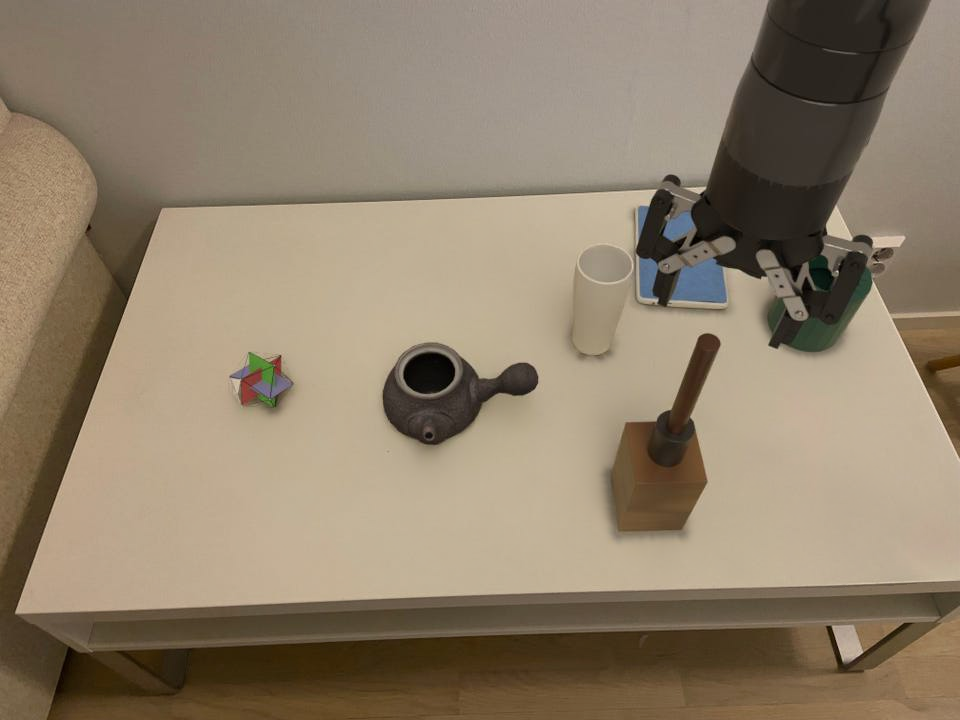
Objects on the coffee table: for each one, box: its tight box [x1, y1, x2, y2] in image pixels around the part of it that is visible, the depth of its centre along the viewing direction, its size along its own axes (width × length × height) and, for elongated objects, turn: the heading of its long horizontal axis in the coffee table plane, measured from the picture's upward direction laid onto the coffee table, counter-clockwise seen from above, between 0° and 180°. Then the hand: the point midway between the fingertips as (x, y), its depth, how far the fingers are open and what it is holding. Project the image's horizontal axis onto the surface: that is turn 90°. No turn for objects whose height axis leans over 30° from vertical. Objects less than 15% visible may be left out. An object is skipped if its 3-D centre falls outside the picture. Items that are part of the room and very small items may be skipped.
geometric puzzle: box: [228, 350, 295, 409], centre depth 87 cm, size 7×7×8 cm
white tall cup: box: [571, 242, 635, 356], centre depth 87 cm, size 7×7×15 cm
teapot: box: [381, 341, 539, 446], centre depth 83 cm, size 19×15×10 cm
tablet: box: [634, 204, 730, 310], centre depth 101 cm, size 19×13×1 cm, turn 173°
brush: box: [648, 332, 722, 467], centre depth 63 cm, size 4×4×18 cm
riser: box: [610, 420, 709, 533], centre depth 75 cm, size 7×7×12 cm
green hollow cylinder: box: [767, 255, 874, 353], centre depth 90 cm, size 9×9×10 cm
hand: (719, 318), depth 53 cm, fingers open, 8 cm apart
